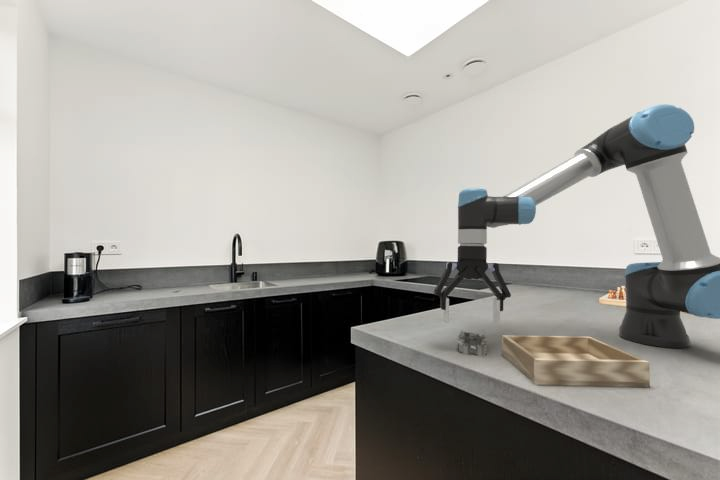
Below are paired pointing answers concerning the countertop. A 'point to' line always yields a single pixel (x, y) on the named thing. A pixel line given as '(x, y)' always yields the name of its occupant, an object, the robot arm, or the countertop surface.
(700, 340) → the countertop surface
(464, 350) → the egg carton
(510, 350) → the tray
